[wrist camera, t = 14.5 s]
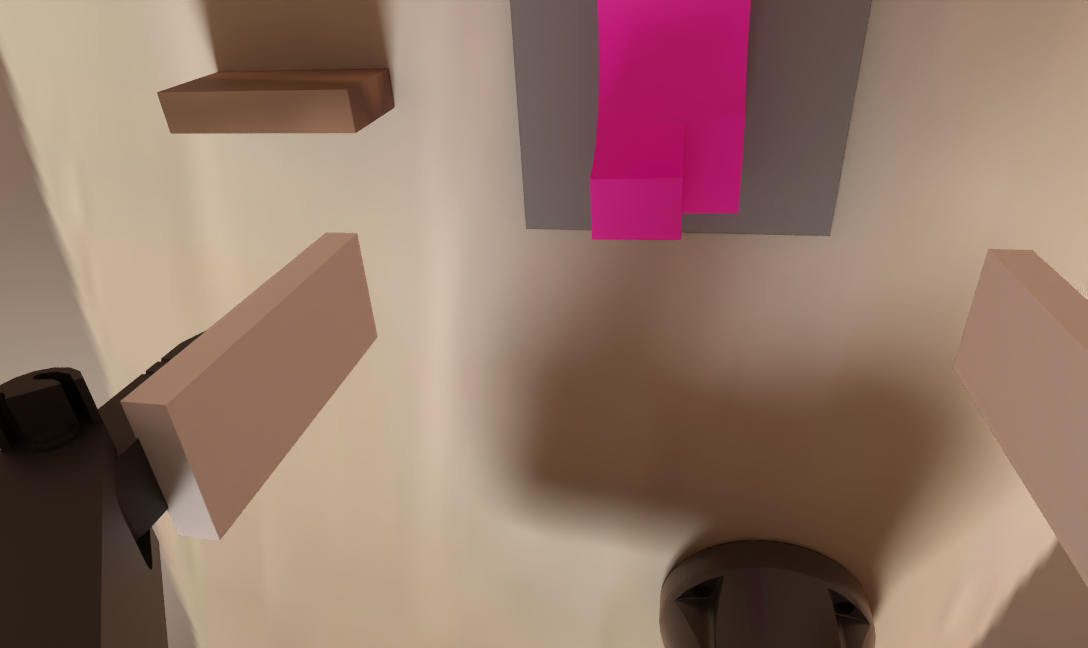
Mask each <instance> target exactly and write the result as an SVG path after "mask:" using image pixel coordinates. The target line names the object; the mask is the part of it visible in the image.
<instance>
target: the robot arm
mask: <svg viewBox="0 0 1088 648" xmlns="http://www.w3.org/2000/svg"><path fill="white" fill-rule="evenodd" d="M376 338H377V332H376V327H375V322H374V317H373V312H372V307H371V302H370V297H369V292H368V287H367V282H366V276H365V271H364V266H363V261H362V256H361V251H360V246H359V241H358V236H357V233H325V234H324V235H323V236H321V237H320V238H319V239H318V240H317V241H315V242H314V243H313V244H312V245H310V246H309V247H308V248H307V249H306V250H304V251H303V252H302V253H301V254H299V255H298V256H297V257H296V258H295V259H293V260H292V261H291V262H290V263H288V264H287V265H286V266H285V267H284V268H282V269H281V270H280V271H279V272H277V273H276V274H275V275H274V276H273V277H271V278H270V279H269V280H268V281H266V282H265V283H264V284H263V285H262V286H260V287H259V288H258V289H257V290H255V291H254V292H253V293H252V294H251V295H249V296H248V297H247V298H246V299H244V300H243V301H242V302H241V303H240V304H238V305H237V306H236V307H235V308H233V309H232V310H231V311H230V312H229V313H227V314H226V315H225V316H224V317H222V318H221V319H220V320H219V321H218V322H216V323H215V324H214V325H213V326H211V327H210V328H209V329H208V330H206V331H204V332H202V333H200V334H198V335H196V336H194V337H192V338H190V339H188V340H186V341H184V342H182V343H180V344H179V345H178V346H176V347H175V348H174V349H173V350H171V351H170V352H169V353H168V354H166V355H165V356H164V357H163V358H161V362H156V363H155V364H154V365H153V366H151V367H150V368H149V369H148V370H146V374H141V375H140V376H139V377H138V378H136V379H135V380H134V381H133V382H131V383H130V384H129V385H128V386H126V387H125V388H124V389H123V390H121V391H120V392H119V393H118V394H117V395H115V396H114V397H113V398H112V399H110V400H109V401H108V402H107V403H105V404H104V405H103V406H102V407H100V408H99V409H97V407H96V405H95V402H94V400H93V398H92V396H91V394H90V392H89V389H88V387H87V385H86V383H85V381H84V379H83V376H82V375H81V372H80V371H78V370H75V369H72V368H49V369H44V370H38V371H34V372H31V373H28V374H25V375H22V376H19V377H16V378H14V379H12V380H10V381H8V382H6V383H4V384H2V385H0V449H1V450H0V648H168V640H167V630H166V618H165V607H164V596H163V584H162V572H161V561H160V550H159V541H158V539H157V537H156V535H155V533H154V531H153V529H152V525H153V524H154V523H155V522H156V521H157V520H158V519H159V518H160V517H161V516H162V514H163V513H164V512H165V511H166V510H168V512H169V515H170V517H171V519H172V521H173V524H174V526H175V528H176V531H177V533H178V535H179V536H185V537H194V538H202V539H211V540H219V541H220V540H221V538H222V537H223V536H224V534H225V533H226V532H227V531H228V529H229V528H230V527H231V525H232V524H233V523H234V522H235V520H236V519H237V518H238V516H239V515H240V514H241V513H242V511H243V510H244V509H245V507H246V506H247V505H248V503H249V502H250V501H251V500H252V498H253V497H254V496H255V494H256V493H257V492H258V491H259V489H260V488H261V487H262V485H263V484H264V483H265V482H266V480H267V479H268V478H269V476H270V475H271V474H272V472H273V471H274V470H275V469H276V467H277V466H278V465H279V463H280V462H281V461H282V460H283V458H284V457H285V456H286V454H287V453H288V452H289V451H290V449H291V448H292V447H293V445H294V444H295V443H296V442H297V440H298V439H299V438H300V436H301V435H302V434H303V432H304V431H305V430H306V429H307V427H308V426H309V425H310V423H311V422H312V421H313V420H314V418H315V417H316V416H317V414H318V413H319V412H320V411H321V409H322V408H323V407H324V405H325V404H326V403H327V401H328V400H329V399H330V398H331V396H332V395H333V394H334V392H335V391H336V390H337V389H338V387H339V386H340V385H341V383H342V382H343V381H344V380H345V378H346V377H347V376H348V374H349V373H350V372H351V370H352V369H353V368H354V367H355V365H356V364H357V363H358V361H359V360H360V359H361V358H362V356H363V355H364V354H365V352H366V351H367V350H368V349H369V347H370V346H371V345H372V343H373V342H374V341H375V340H376ZM953 369H954V371H955V373H956V374H957V376H958V378H959V379H960V381H961V382H962V384H963V386H964V387H965V389H966V391H967V392H968V394H969V395H970V397H971V399H972V400H973V402H974V404H975V405H976V407H977V408H978V410H979V412H980V413H981V415H982V417H983V418H984V420H985V421H986V423H987V425H988V426H989V428H990V430H991V431H992V433H993V434H994V436H995V438H996V439H997V441H998V443H999V444H1000V446H1001V447H1002V449H1003V451H1004V452H1005V454H1006V456H1007V457H1008V459H1009V460H1010V462H1011V464H1012V465H1013V467H1014V469H1015V470H1016V472H1017V473H1018V475H1019V477H1020V478H1021V480H1022V481H1023V483H1024V485H1025V486H1026V488H1027V490H1028V491H1029V493H1030V494H1031V496H1032V498H1033V499H1034V501H1035V503H1036V504H1037V506H1038V507H1039V509H1040V511H1041V512H1042V514H1043V516H1044V517H1045V519H1046V520H1047V522H1048V524H1049V525H1050V527H1051V529H1052V530H1053V532H1054V533H1055V535H1056V537H1057V538H1058V540H1059V541H1060V543H1061V545H1062V546H1063V548H1064V550H1065V551H1066V553H1067V554H1068V556H1069V558H1070V559H1071V561H1072V563H1073V564H1074V566H1075V568H1076V569H1077V571H1078V572H1079V574H1080V576H1081V577H1082V579H1083V580H1084V582H1085V583H1086V585H1087V587H1088V300H1087V299H1085V298H1084V297H1083V296H1082V295H1081V294H1080V293H1079V292H1078V291H1077V290H1076V289H1074V288H1073V287H1072V286H1071V285H1070V284H1069V283H1068V282H1067V281H1066V280H1065V279H1063V278H1062V277H1061V276H1060V275H1059V274H1058V273H1057V272H1056V271H1055V270H1053V269H1052V268H1051V267H1050V266H1049V265H1048V264H1047V263H1046V262H1045V261H1044V260H1042V259H1041V258H1040V257H1039V256H1038V255H1037V254H1036V253H1035V252H1034V251H1033V250H1000V249H988V252H987V255H986V259H985V262H984V265H983V269H982V272H981V276H980V279H979V282H978V286H977V289H976V292H975V296H974V299H973V302H972V306H971V309H970V313H969V316H968V319H967V323H966V326H965V329H964V333H963V336H962V340H961V343H960V346H959V350H958V353H957V356H956V360H955V363H954V366H953ZM659 624H660V632H661V637H662V640H663V643H664V647H665V648H875V627H874V622H873V619H872V615H871V611H870V607H869V603H868V599H867V596H866V594H865V592H864V590H863V588H862V587H861V585H860V584H859V582H858V581H857V580H856V579H855V578H854V577H853V576H852V575H851V574H850V573H849V572H848V571H847V570H846V569H844V568H843V567H842V566H840V565H839V564H837V563H836V562H834V561H832V560H831V559H829V558H827V557H825V556H823V555H821V554H818V553H816V552H814V551H811V550H808V549H805V548H801V547H798V546H794V545H789V544H784V543H777V542H766V541H746V542H735V543H729V544H723V545H719V546H715V547H712V548H709V549H706V550H703V551H701V552H699V553H697V554H695V555H693V556H691V557H689V558H688V559H686V560H684V561H683V562H682V563H680V564H679V565H678V566H677V567H676V568H675V569H674V570H673V571H672V572H671V573H670V575H669V576H668V577H667V579H666V581H665V583H664V585H663V588H662V591H661V596H660V617H659Z"/></svg>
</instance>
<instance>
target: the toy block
mask: <svg viewBox="0 0 1088 648" xmlns="http://www.w3.org/2000/svg"><path fill="white" fill-rule="evenodd" d="M750 5H751V0H597V9H598V36H599V92H598V117H597V132H596V143H595V152H594V159H593V166H592V171H591V175H590V201H591V225H592V239H625V240H681V218H682V213H738V210H739V196H740V183H741V169H742V156H743V143H744V129H745V96H746V68H747V49H748V32H749V18H750Z"/></svg>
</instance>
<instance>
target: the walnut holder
mask: <svg viewBox="0 0 1088 648" xmlns="http://www.w3.org/2000/svg"><path fill="white" fill-rule="evenodd" d="M157 94H158V97H159V100H160V103H161V106H162V109H163V112H164V115H165V118H166V121H167V124H168V127H169V130H170V132H171V133H356V132H358V131H359V130H361V129H362V128H364V127H365V126H367V125H369V124H370V123H372V122H373V121H375V120H376V119H378V118H379V117H381V116H382V115H384V114H385V113H387V112H388V111H390V110H391V109H393V108H394V102H393V96H392V90H391V84H390V77H389V71H388V68H387V69H341V70H295V71H249V72H217V73H214V74H211V75H208V76H205V77H202V78H199V79H196V80H193V81H190V82H187V83H184V84H181V85H178V86H175V87H172V88H169V89H166V90H163V91H160V92H157Z"/></svg>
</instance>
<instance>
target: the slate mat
mask: <svg viewBox="0 0 1088 648" xmlns="http://www.w3.org/2000/svg"><path fill="white" fill-rule="evenodd" d="M871 1H872V0H751V5H750V18H749V32H748V49H747V68H746V96H745V129H744V143H743V156H742V169H741V183H740V196H739V210H738V213H682V218H681V232H684V233H726V234H767V235H809V236H830V232H831V226H832V221H833V215H834V209H835V204H836V198H837V193H838V187H839V181H840V176H841V170H842V164H843V159H844V153H845V148H846V142H847V136H848V131H849V125H850V119H851V114H852V108H853V103H854V97H855V91H856V86H857V80H858V74H859V69H860V63H861V57H862V52H863V46H864V41H865V35H866V29H867V24H868V18H869V12H870V7H871ZM510 6H511V20H512V34H513V48H514V62H515V77H516V91H517V105H518V119H519V133H520V147H521V161H522V175H523V189H524V203H525V217H526V229H559V230H592V225H591V201H590V175H591V171H592V166H593V159H594V152H595V143H596V132H597V117H598V92H599V36H598V9H597V0H510Z"/></svg>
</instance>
